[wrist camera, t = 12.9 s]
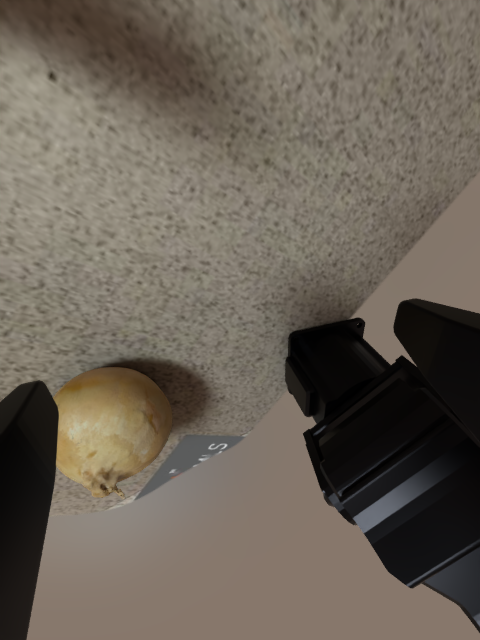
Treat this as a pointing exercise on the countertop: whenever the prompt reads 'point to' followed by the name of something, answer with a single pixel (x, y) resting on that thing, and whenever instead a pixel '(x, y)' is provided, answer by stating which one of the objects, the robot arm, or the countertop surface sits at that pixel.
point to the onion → (110, 427)
